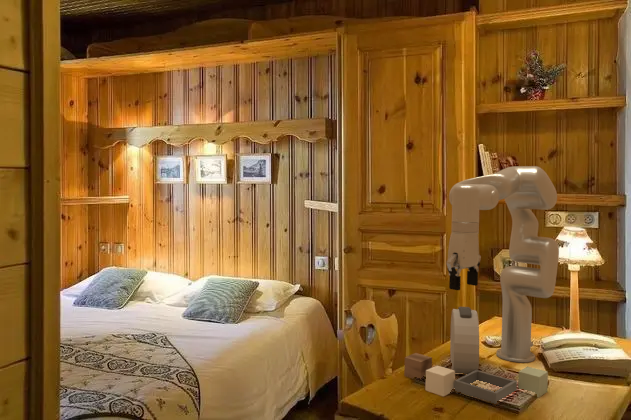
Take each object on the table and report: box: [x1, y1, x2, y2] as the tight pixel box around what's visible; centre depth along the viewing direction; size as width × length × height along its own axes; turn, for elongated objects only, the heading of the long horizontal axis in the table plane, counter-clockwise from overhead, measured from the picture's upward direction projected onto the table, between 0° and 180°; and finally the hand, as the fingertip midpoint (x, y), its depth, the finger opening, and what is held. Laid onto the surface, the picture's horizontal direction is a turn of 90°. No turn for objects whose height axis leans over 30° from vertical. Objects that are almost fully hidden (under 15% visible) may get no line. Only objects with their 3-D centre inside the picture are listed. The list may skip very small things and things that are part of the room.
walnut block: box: [404, 352, 433, 380], centre depth 165 cm, size 6×6×6 cm
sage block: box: [517, 365, 549, 399], centre depth 153 cm, size 6×6×6 cm
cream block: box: [424, 365, 456, 397], centre depth 153 cm, size 6×6×6 cm
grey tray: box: [455, 369, 518, 404], centre depth 152 cm, size 13×13×4 cm
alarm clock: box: [449, 306, 480, 374], centre depth 172 cm, size 21×8×20 cm, turn 168°
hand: (463, 287), depth 153 cm, fingers open, 9 cm apart
